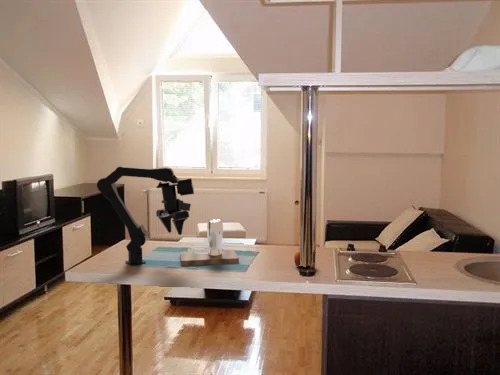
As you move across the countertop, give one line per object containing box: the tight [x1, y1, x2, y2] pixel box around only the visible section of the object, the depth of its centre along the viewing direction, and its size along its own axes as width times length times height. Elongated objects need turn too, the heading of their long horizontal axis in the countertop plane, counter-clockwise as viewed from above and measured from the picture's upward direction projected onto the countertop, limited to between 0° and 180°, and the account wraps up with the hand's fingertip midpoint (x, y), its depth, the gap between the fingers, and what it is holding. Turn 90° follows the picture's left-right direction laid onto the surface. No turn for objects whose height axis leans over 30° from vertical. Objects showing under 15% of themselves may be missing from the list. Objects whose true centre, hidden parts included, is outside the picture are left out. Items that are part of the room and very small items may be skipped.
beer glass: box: [206, 218, 224, 256], centre depth 206 cm, size 7×7×15 cm
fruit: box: [293, 250, 301, 268], centre depth 195 cm, size 8×8×8 cm
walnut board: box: [179, 249, 240, 266], centre depth 207 cm, size 24×15×2 cm, turn 100°
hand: (175, 233), depth 201 cm, fingers open, 9 cm apart
